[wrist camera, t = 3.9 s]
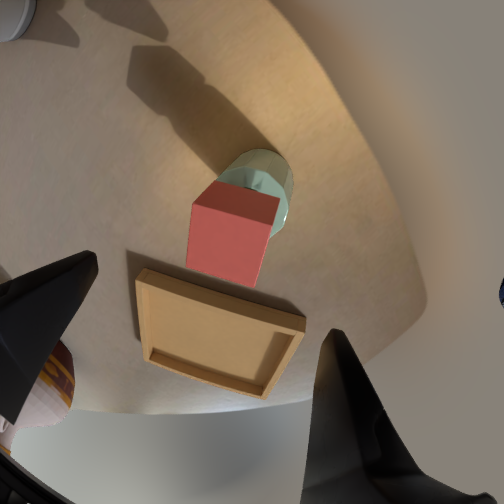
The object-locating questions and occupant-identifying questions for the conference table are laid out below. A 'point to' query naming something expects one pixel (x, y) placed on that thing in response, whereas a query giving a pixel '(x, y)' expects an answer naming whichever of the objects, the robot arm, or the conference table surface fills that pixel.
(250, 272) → the cube with green stem
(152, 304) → the tray
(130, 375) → the conference table surface
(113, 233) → the conference table surface
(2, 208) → the conference table surface
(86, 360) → the conference table surface
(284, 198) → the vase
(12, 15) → the travel mug
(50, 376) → the jug
